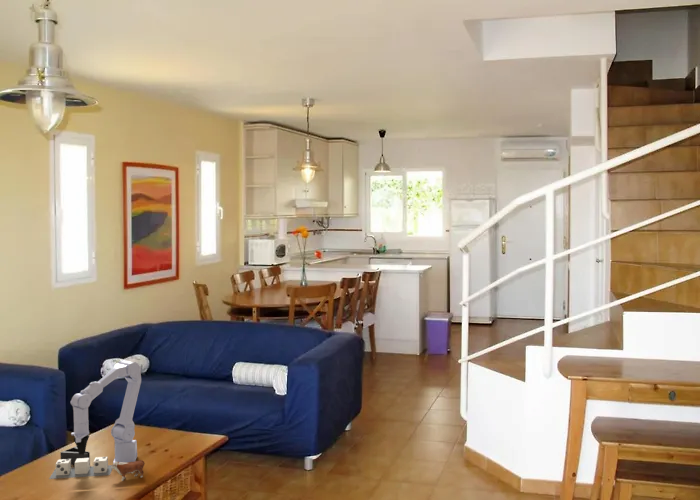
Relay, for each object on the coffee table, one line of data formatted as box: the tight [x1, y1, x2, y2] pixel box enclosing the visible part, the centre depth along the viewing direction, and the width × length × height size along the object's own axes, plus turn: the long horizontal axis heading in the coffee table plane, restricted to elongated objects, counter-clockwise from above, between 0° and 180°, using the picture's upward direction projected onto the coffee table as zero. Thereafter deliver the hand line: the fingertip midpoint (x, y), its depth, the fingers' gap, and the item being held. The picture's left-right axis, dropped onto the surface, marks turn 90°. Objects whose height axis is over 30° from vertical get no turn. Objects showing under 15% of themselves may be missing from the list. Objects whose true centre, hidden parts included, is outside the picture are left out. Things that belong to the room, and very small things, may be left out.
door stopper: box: [60, 445, 91, 466], centre depth 315 cm, size 9×6×12 cm
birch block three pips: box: [55, 458, 72, 475], centre depth 303 cm, size 5×5×5 cm
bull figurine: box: [111, 459, 146, 482], centre depth 297 cm, size 4×13×8 cm, turn 114°
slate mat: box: [48, 464, 113, 480], centre depth 305 cm, size 24×12×1 cm, turn 100°
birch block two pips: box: [93, 456, 109, 473], centre depth 306 cm, size 5×5×5 cm
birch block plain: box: [74, 458, 91, 474], centre depth 305 cm, size 5×5×5 cm
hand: (82, 454), depth 304 cm, fingers closed
